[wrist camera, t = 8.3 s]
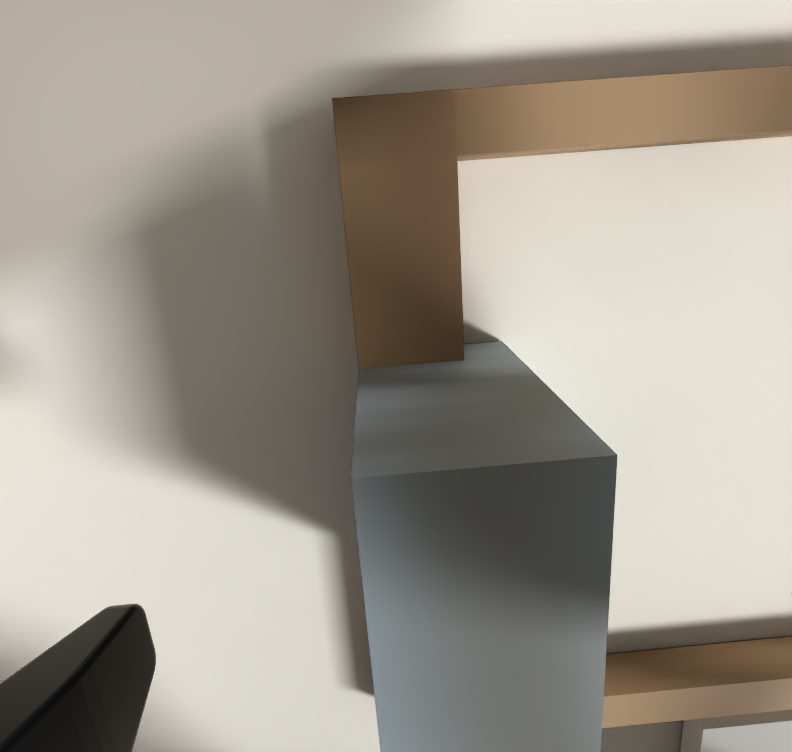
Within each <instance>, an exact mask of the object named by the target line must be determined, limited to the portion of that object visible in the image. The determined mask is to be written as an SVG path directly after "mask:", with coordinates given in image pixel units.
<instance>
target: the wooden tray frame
mask: <svg viewBox="0 0 792 752" xmlns="http://www.w3.org/2000/svg"><path fill="white" fill-rule="evenodd" d="M332 102H333V112H334V123H335V133H336V143H337V153H338V163H339V174H340V184H341V194H342V204H343V214H344V225H345V235H346V245H347V255H348V265H349V276H350V286H351V296H352V306H353V316H354V327H355V337H356V347H357V357H358V367H359V371H358V385H357V399H356V413H355V427H354V441H353V454H352V468H351V485H352V494H353V504H354V513H355V522H356V531H357V540H358V549H359V558H360V567H361V576H362V586H363V595H364V604H365V613H366V622H367V631H368V640H369V649H370V658H371V668H372V677H373V686H374V695H375V704H376V713H377V722H378V731H379V741H380V750H381V752H601V738H602V728H611V727H621V726H631V725H641V724H651V723H661V722H671V721H681V720H691V719H701V718H711V717H721V716H731V715H741V714H751V713H761V712H772V711H782V710H792V637H782V638H771V639H761V640H751V641H740V642H730V643H719V644H709V645H699V646H688V647H678V648H668V649H657V650H647V651H636V652H626V653H616V654H606V648H607V630H608V612H609V594H610V576H611V558H612V540H613V522H614V504H615V487H616V469H617V454H616V453H615V452H614V451H613V450H612V449H611V448H610V447H609V446H608V445H607V444H606V443H605V442H603V441H602V440H601V439H600V438H599V437H598V436H597V435H596V434H595V433H594V432H593V431H592V430H591V429H590V428H589V427H588V426H587V425H586V424H585V423H584V422H583V421H582V420H581V419H580V418H579V417H578V416H577V415H576V414H575V413H574V412H573V411H572V410H571V409H570V408H569V407H568V406H567V405H566V404H565V403H564V402H563V401H562V400H561V399H560V398H559V397H558V396H557V395H556V394H555V393H554V392H553V391H552V390H551V389H550V388H549V387H548V386H547V385H546V384H545V383H544V382H543V381H542V380H541V379H540V378H539V377H538V376H537V375H536V374H535V373H534V372H533V371H532V370H531V369H530V368H529V367H528V366H527V365H526V364H524V363H523V362H522V361H521V360H520V359H519V358H518V357H517V356H516V355H515V354H514V353H513V352H512V351H511V350H510V349H509V348H508V347H507V346H506V345H505V344H504V343H503V342H502V341H498V342H486V343H474V344H464V337H463V309H462V282H461V254H460V226H459V199H458V171H457V161H463V160H476V159H489V158H503V157H516V156H530V155H543V154H556V153H570V152H583V151H597V150H610V149H623V148H637V147H650V146H663V145H677V144H690V143H704V142H717V141H730V140H744V139H757V138H770V137H784V136H792V65H789V66H776V67H762V68H748V69H734V70H720V71H706V72H692V73H678V74H664V75H650V76H636V77H622V78H608V79H594V80H580V81H566V82H552V83H538V84H524V85H510V86H497V87H483V88H469V89H455V90H441V91H427V92H413V93H399V94H385V95H371V96H357V97H343V98H332Z"/></svg>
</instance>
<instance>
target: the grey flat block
mask: <svg viewBox="0 0 792 752" xmlns="http://www.w3.org/2000/svg"><path fill="white" fill-rule="evenodd" d="M680 752H792V710H782V711H772V712H761V713H751V714H741V715H731V716H721V717H711V718H701V719H691V720H684V722H683V731H682V739H681V748H680Z"/></svg>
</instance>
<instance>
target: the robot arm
mask: <svg viewBox="0 0 792 752" xmlns="http://www.w3.org/2000/svg"><path fill="white" fill-rule="evenodd" d="M155 665H156V653H155V648H154V644H153V641H152V637H151V633H150V629H149V625H148V622H147V618H146V614H145V611H144V609H143V608H142V606H140V605H138V604H126V605H115V606H110V607H107V608H105V609H104V610H102V611H101V612H99V613H98V614H97V615H95V616H94V617H92V618H91V619H90V620H88V621H87V622H85V623H84V624H83V625H81V626H80V627H78V628H77V629H76V630H74V631H73V632H72V633H70V634H69V635H67V636H66V637H65V638H63V639H62V640H60V641H59V642H58V643H56V644H55V645H53V646H52V647H51V648H49V649H48V650H46V651H45V652H44V653H42V654H41V655H40V656H38V657H37V658H35V659H34V660H33V661H31V662H30V663H28V664H27V665H26V666H24V667H23V668H21V669H20V670H19V671H17V672H16V673H14V674H13V675H12V676H10V677H9V678H7V679H6V680H5V681H3V682H2V683H1V684H0V752H132V750H133V746H134V743H135V739H136V735H137V732H138V728H139V725H140V721H141V718H142V714H143V710H144V707H145V703H146V700H147V696H148V693H149V689H150V685H151V682H152V678H153V675H154V671H155Z"/></svg>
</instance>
